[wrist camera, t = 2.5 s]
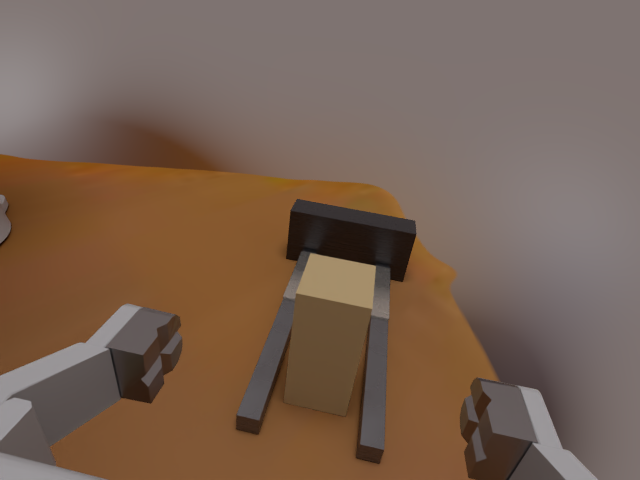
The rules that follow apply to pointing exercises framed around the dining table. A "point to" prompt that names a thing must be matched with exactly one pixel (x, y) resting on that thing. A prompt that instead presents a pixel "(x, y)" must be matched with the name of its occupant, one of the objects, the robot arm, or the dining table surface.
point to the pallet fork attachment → (391, 262)
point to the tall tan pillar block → (328, 333)
